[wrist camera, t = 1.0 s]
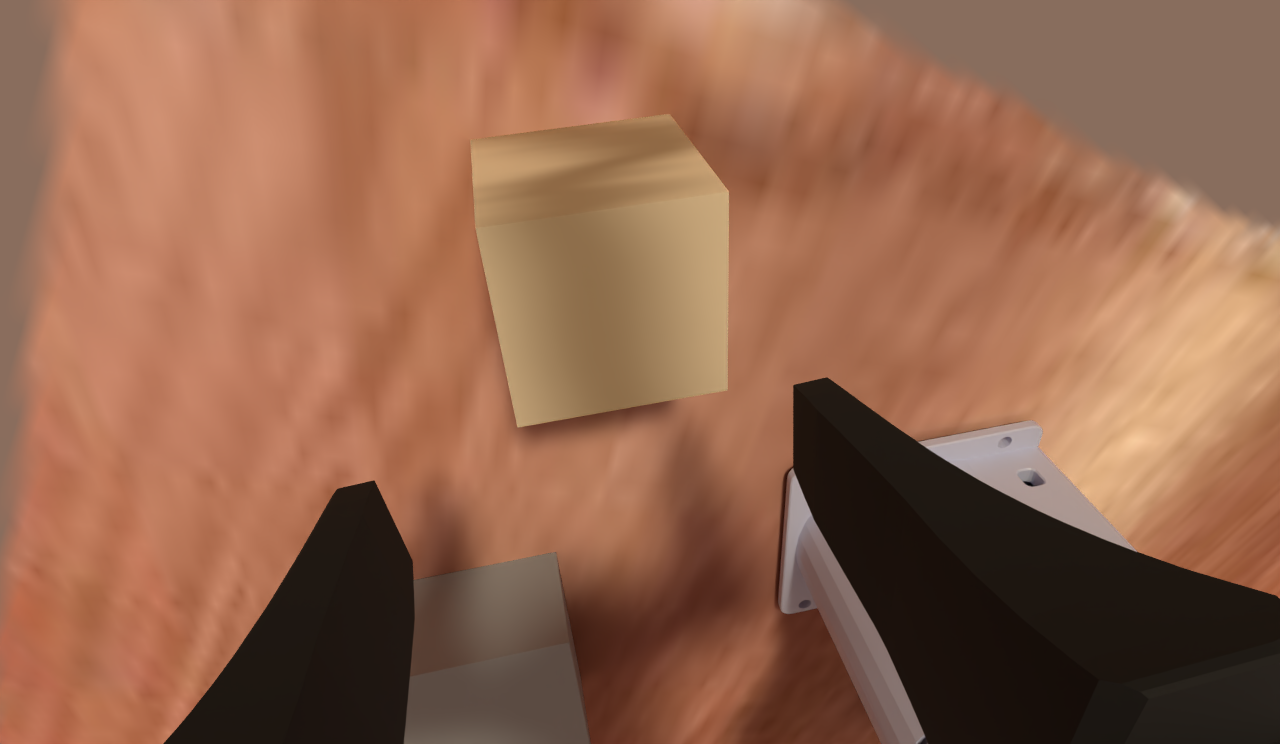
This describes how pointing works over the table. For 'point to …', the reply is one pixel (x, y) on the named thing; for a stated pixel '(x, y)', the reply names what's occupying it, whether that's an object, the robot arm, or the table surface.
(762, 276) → the table surface
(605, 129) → the maple cube
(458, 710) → the slate base block
